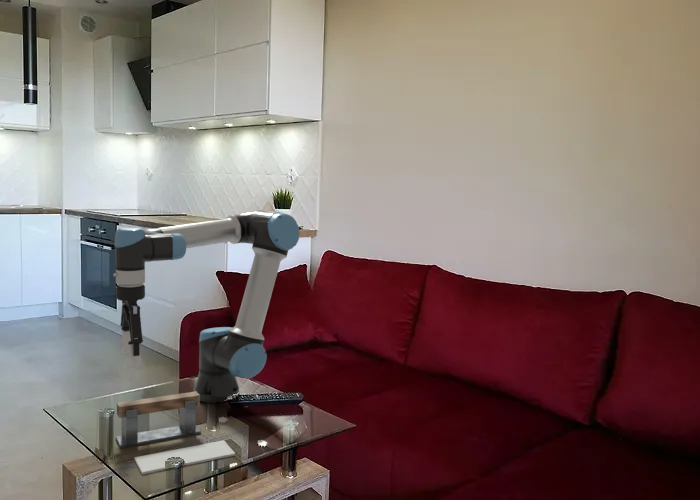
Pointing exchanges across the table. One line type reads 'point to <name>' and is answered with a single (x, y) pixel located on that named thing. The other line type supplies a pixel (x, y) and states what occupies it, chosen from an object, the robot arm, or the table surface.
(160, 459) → the mat
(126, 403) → the rail
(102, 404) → the table surface
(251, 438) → the table surface
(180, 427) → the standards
